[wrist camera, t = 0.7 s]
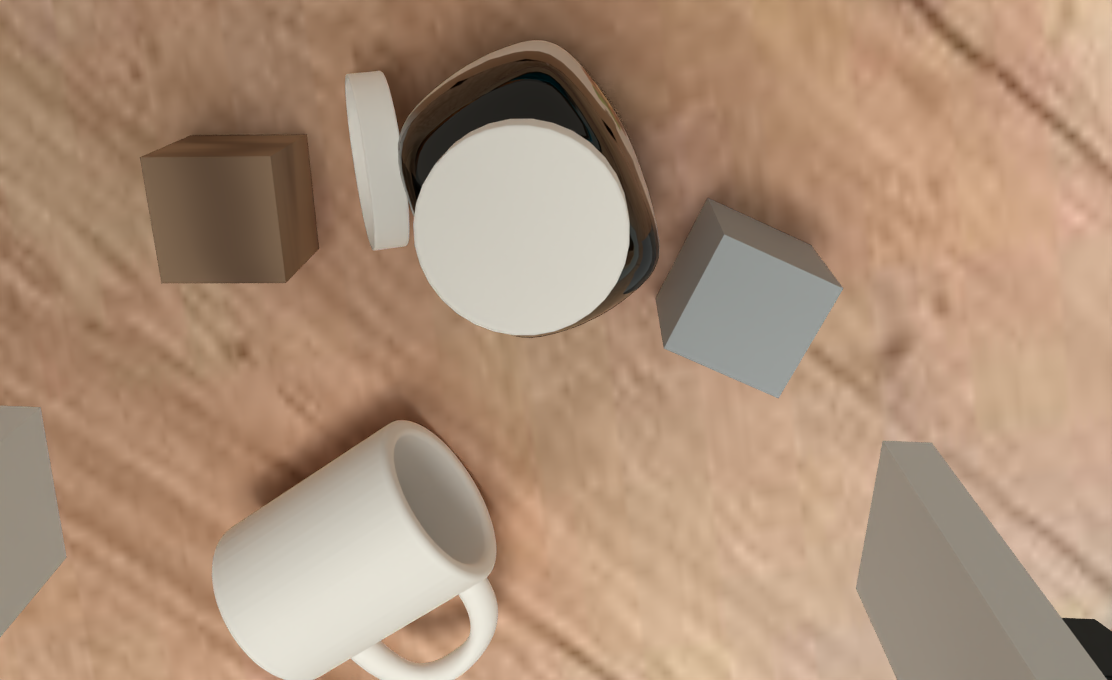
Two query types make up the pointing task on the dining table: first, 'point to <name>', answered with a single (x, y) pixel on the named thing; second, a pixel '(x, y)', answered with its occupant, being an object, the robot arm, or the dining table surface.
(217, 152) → the walnut block
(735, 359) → the slate block
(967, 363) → the dining table surface
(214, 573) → the mug
